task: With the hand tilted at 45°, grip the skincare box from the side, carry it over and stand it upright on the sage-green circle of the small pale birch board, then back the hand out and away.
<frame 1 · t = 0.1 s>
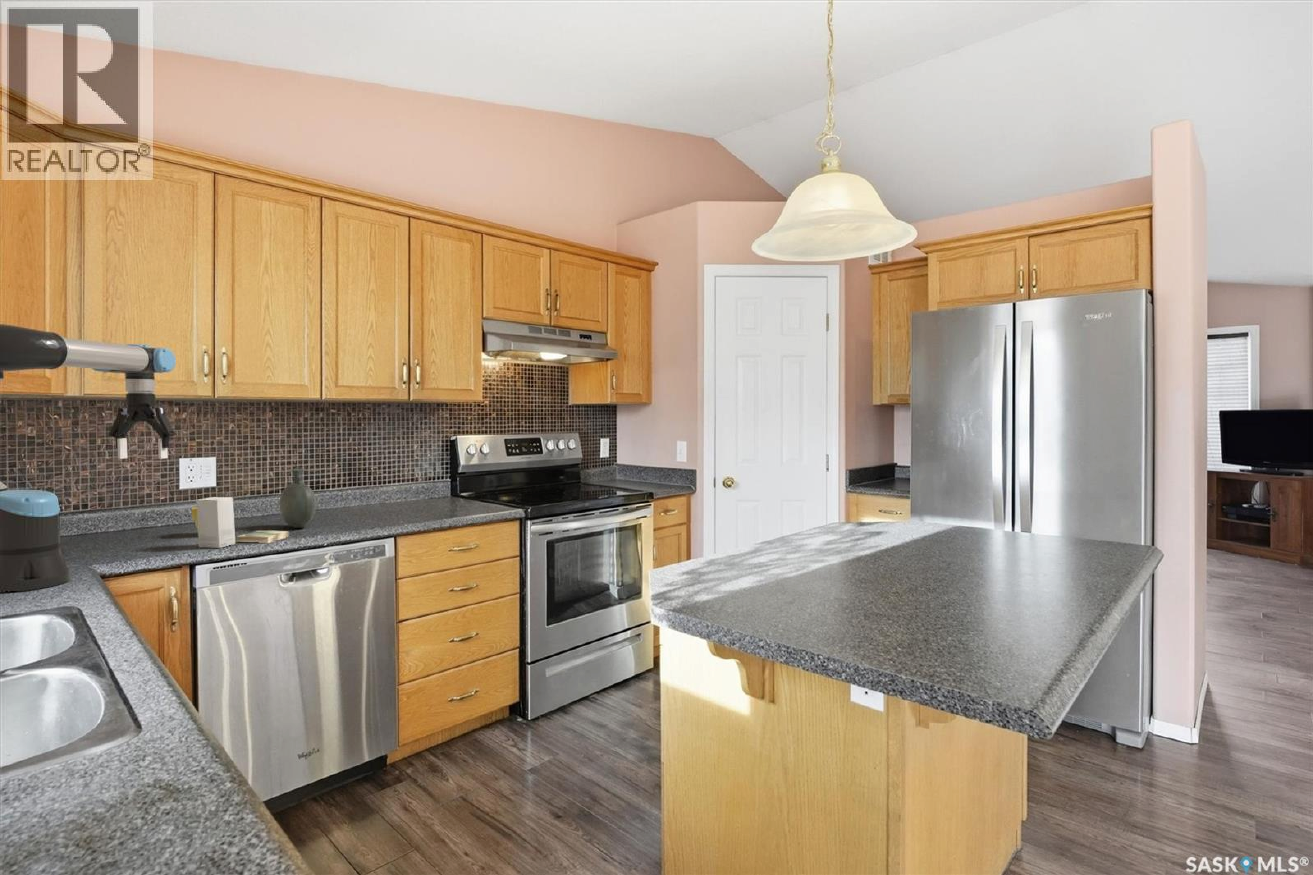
hand: (143, 458, 212), 28 cm above the worktop, tool pointing down, fingers open, 13 cm apart
skincare box: (216, 546, 211), on the worktop
flask: (298, 528, 244), on the worktop
plant pot: (210, 535, 230), on the worktop
birch board: (262, 539, 221), on the worktop
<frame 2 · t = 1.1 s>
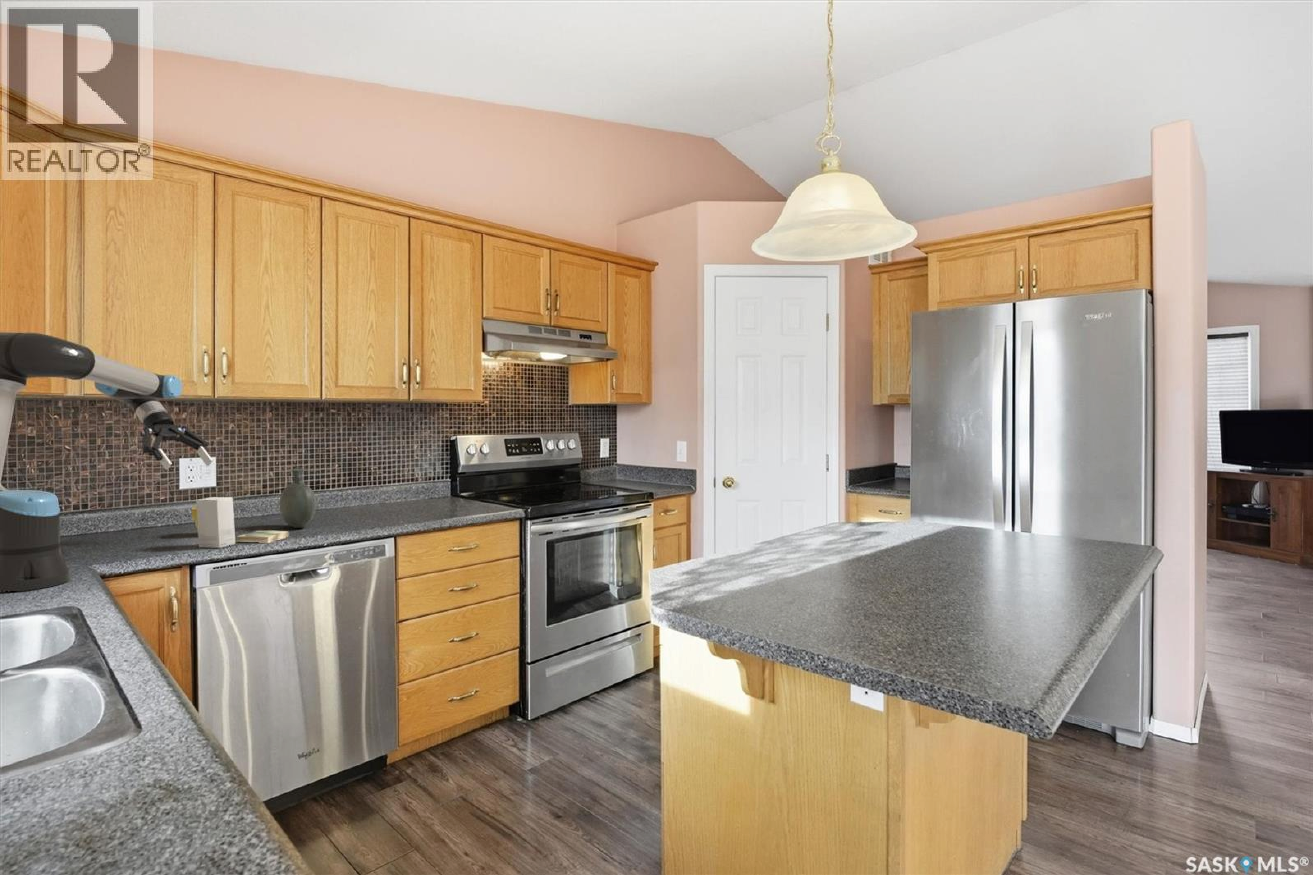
hand: (190, 464, 213), 26 cm above the worktop, tool tilted 45°, fingers open, 13 cm apart
nothing on the worktop moved.
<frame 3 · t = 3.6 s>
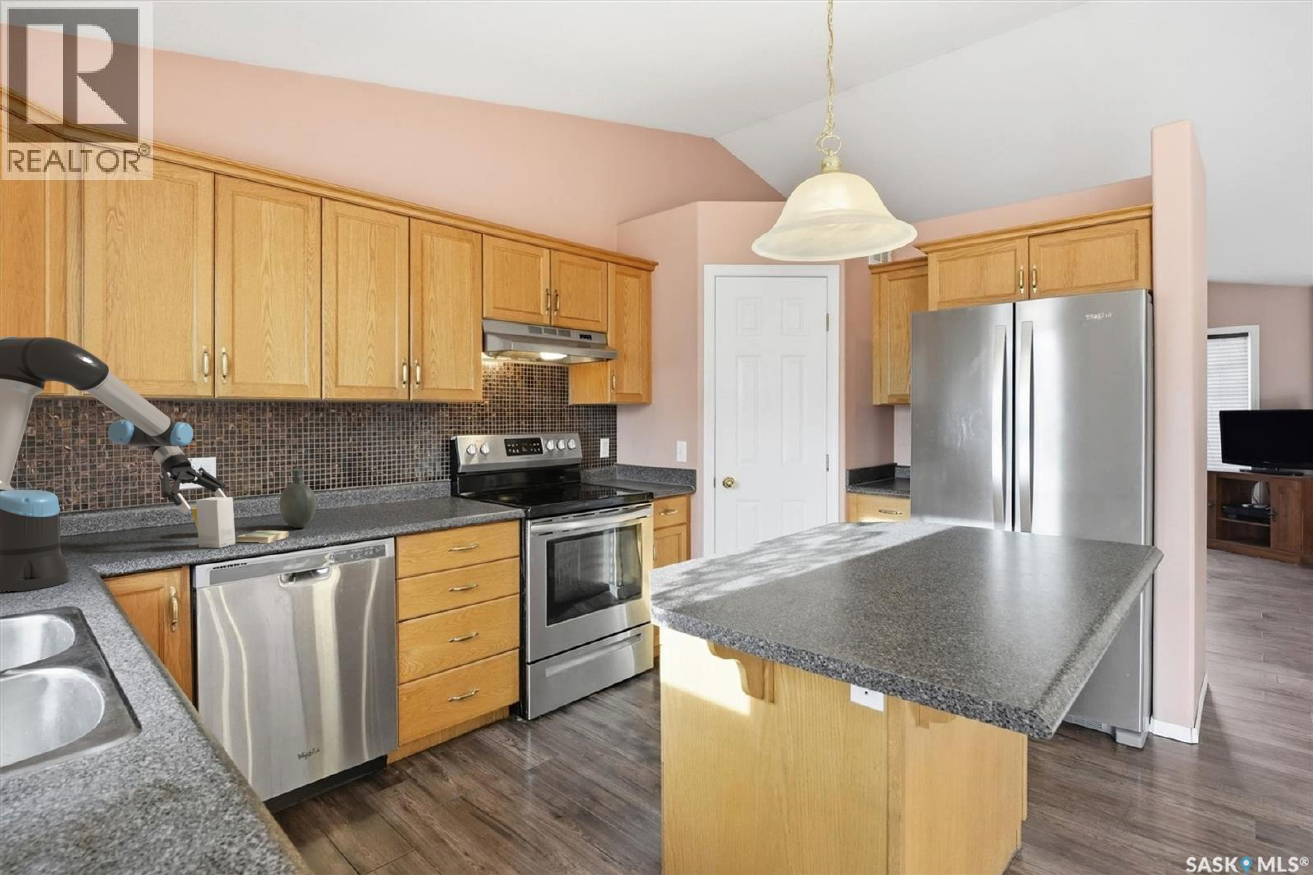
hand: (208, 508, 213), 12 cm above the worktop, tool tilted 45°, fingers open, 13 cm apart
nothing on the worktop moved.
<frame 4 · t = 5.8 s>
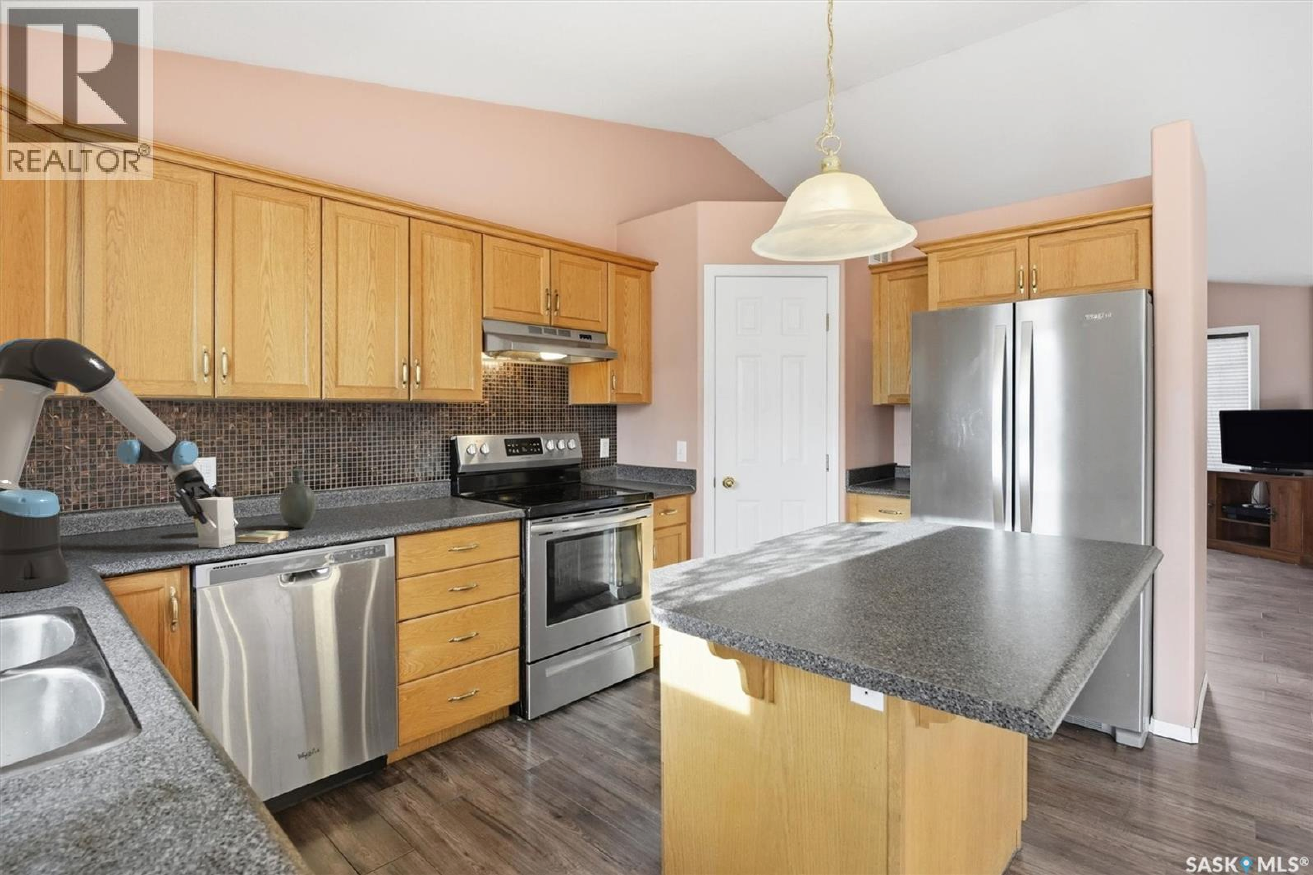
hand: (224, 528, 209), 6 cm above the worktop, tool tilted 45°, fingers closed on skincare box, 7 cm apart
skincare box: (216, 546, 211), on the worktop, touching gripper
everything else where it was.
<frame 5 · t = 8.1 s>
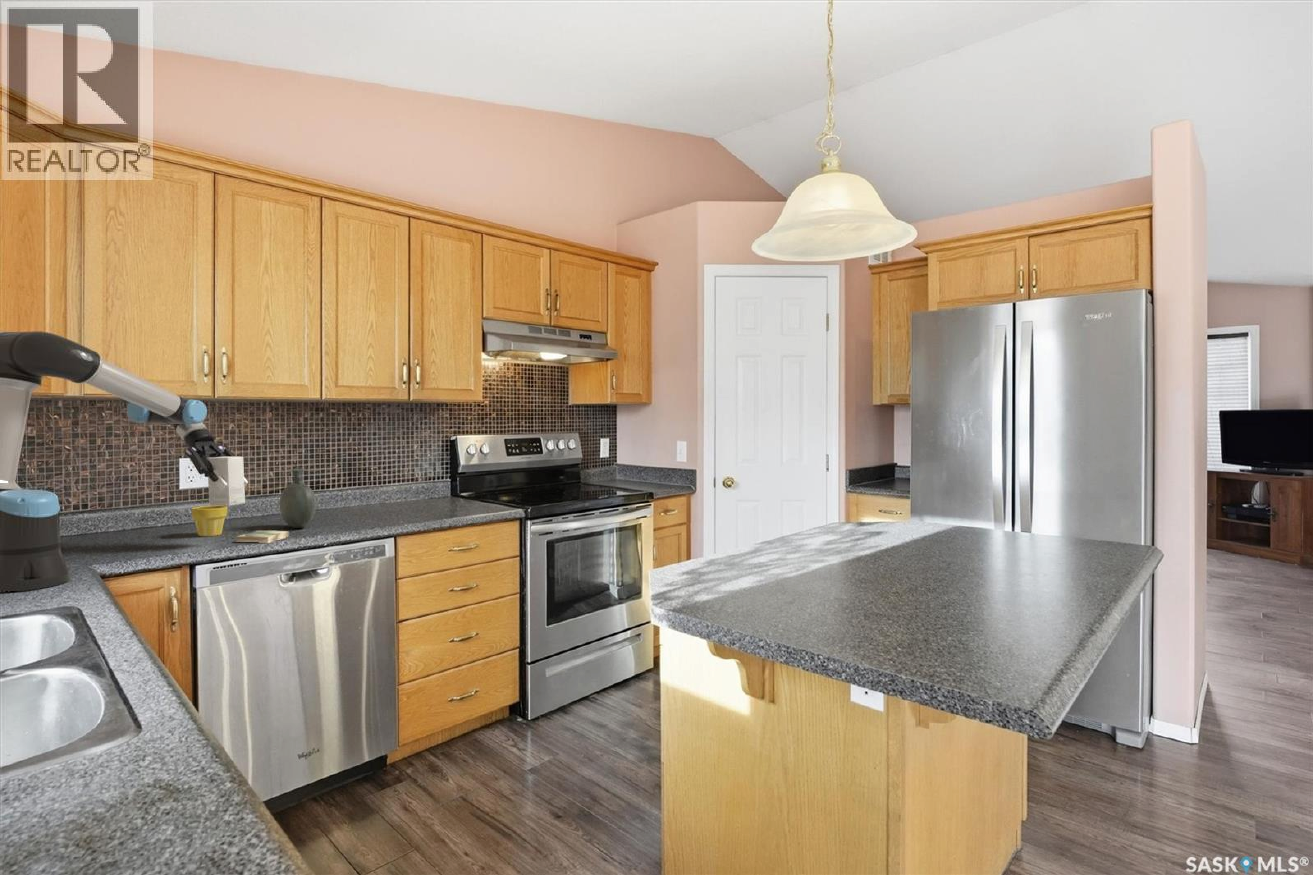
hand: (234, 486, 212), 19 cm above the worktop, tool tilted 45°, fingers closed on skincare box, 7 cm apart
skincare box: (226, 505, 213), point 13 cm above the worktop, touching gripper
everything else where it was.
when the fingers open (9 cm above the worktop, at t = 10.7 s): skincare box drops 1 cm, resting on birch board.
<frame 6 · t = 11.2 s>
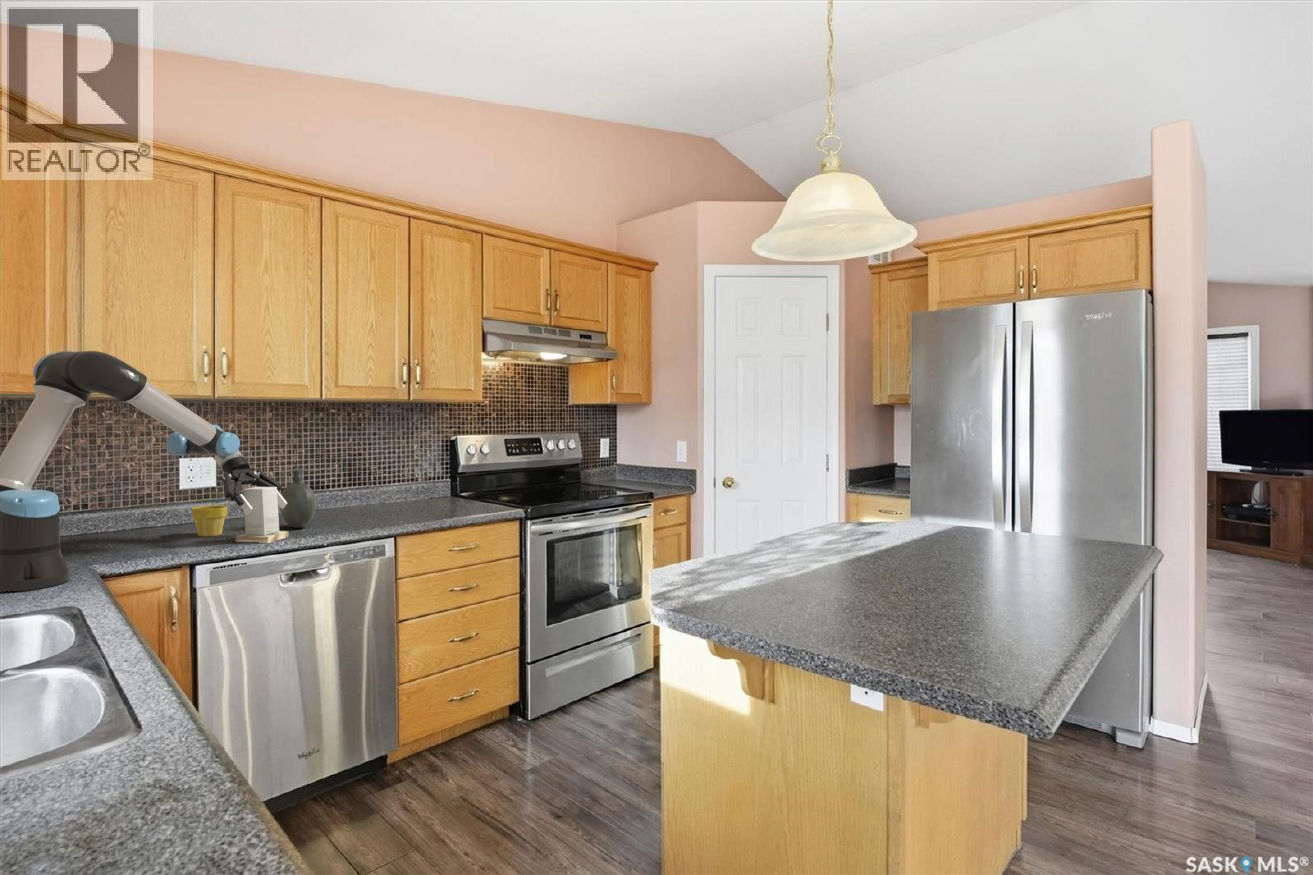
hand: (267, 508, 220), 11 cm above the worktop, tool tilted 45°, fingers open, 13 cm apart
skincare box: (261, 534, 221), point 2 cm above the worktop, touching birch board
everything else where it was.
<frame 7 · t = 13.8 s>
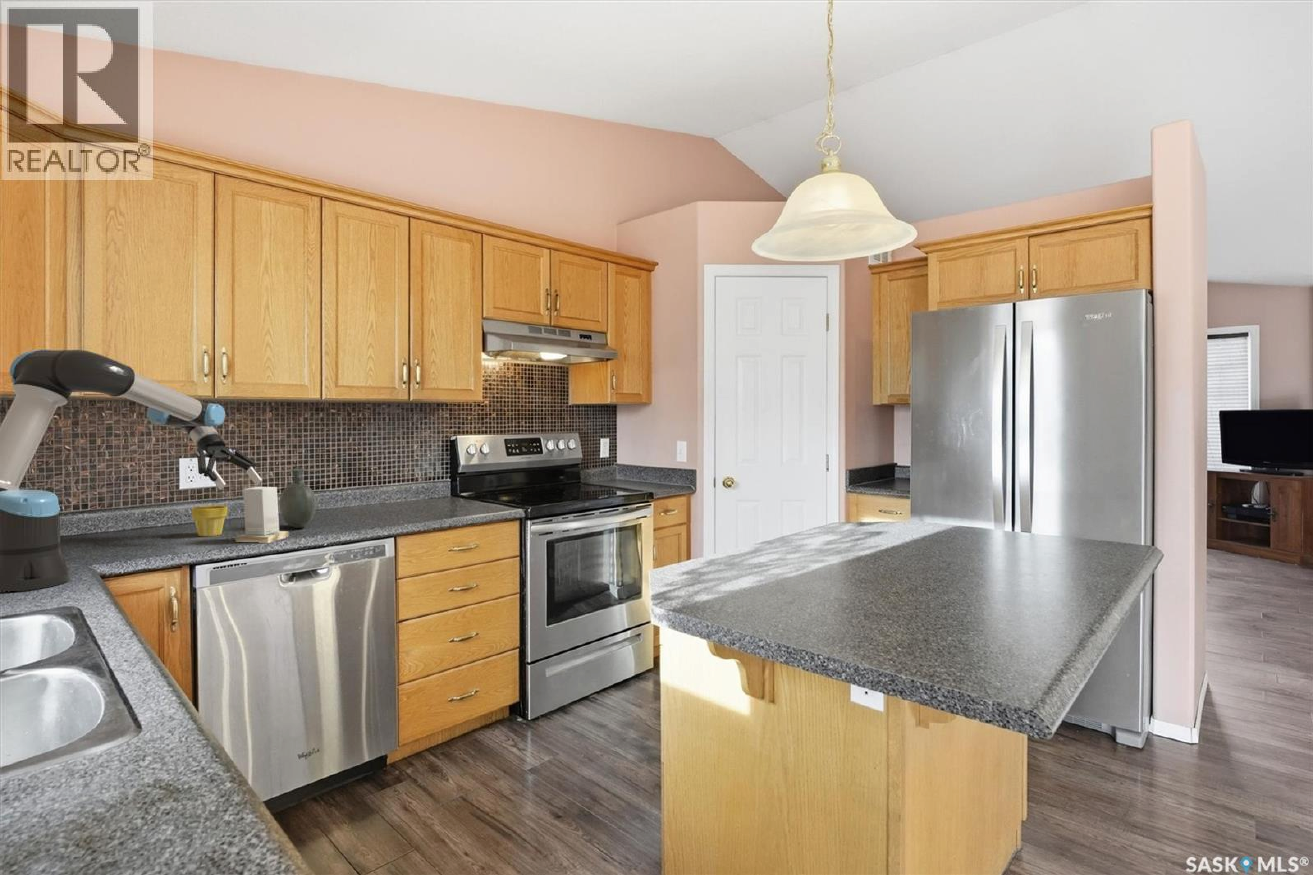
hand: (241, 485, 223), 18 cm above the worktop, tool tilted 45°, fingers open, 13 cm apart
nothing on the worktop moved.
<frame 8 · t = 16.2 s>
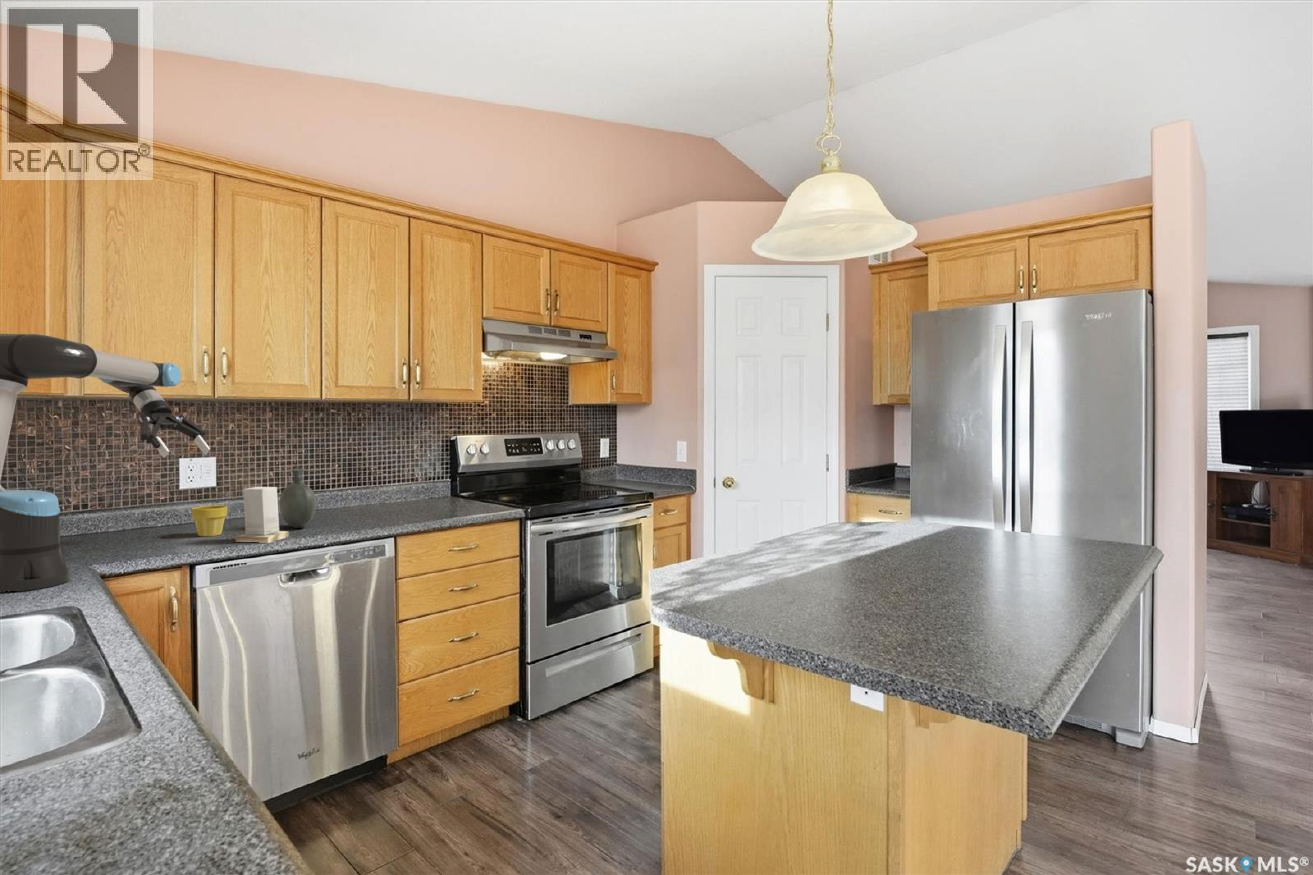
hand: (187, 453, 214), 30 cm above the worktop, tool tilted 45°, fingers open, 13 cm apart
nothing on the worktop moved.
at the end: skincare box inside the target area on the birch board (0.4 cm from its centre), point 2.0 cm above the birch board's base; skincare box tilted 0°; the gripper is holding nothing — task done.
